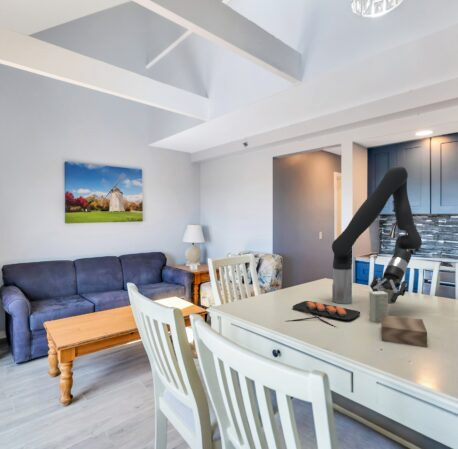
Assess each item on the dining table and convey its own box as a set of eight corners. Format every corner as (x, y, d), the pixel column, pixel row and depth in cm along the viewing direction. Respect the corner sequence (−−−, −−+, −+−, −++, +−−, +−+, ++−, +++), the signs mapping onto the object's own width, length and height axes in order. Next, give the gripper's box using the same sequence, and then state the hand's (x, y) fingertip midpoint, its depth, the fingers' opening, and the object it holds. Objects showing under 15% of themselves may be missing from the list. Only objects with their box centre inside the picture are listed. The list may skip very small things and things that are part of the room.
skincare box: (383, 318, 136) (383, 290, 136) (388, 322, 132) (388, 293, 131) (369, 318, 136) (368, 291, 136) (373, 322, 132) (373, 293, 131)
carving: (395, 304, 157) (395, 280, 156) (378, 302, 160) (378, 278, 160) (396, 300, 162) (396, 277, 162) (379, 299, 166) (379, 276, 165)
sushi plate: (363, 316, 142) (363, 307, 141) (331, 335, 120) (331, 325, 120) (306, 303, 162) (305, 296, 162) (270, 318, 141) (270, 310, 141)
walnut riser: (381, 340, 114) (381, 326, 114) (381, 327, 126) (381, 314, 126) (427, 346, 108) (427, 332, 108) (422, 332, 120) (422, 319, 120)
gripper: (377, 262, 145) (363, 291, 139) (409, 266, 134) (395, 298, 128) (383, 272, 149) (370, 301, 142) (415, 277, 137) (402, 308, 131)
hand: (382, 299), depth 135 cm, fingers open, 8 cm apart
